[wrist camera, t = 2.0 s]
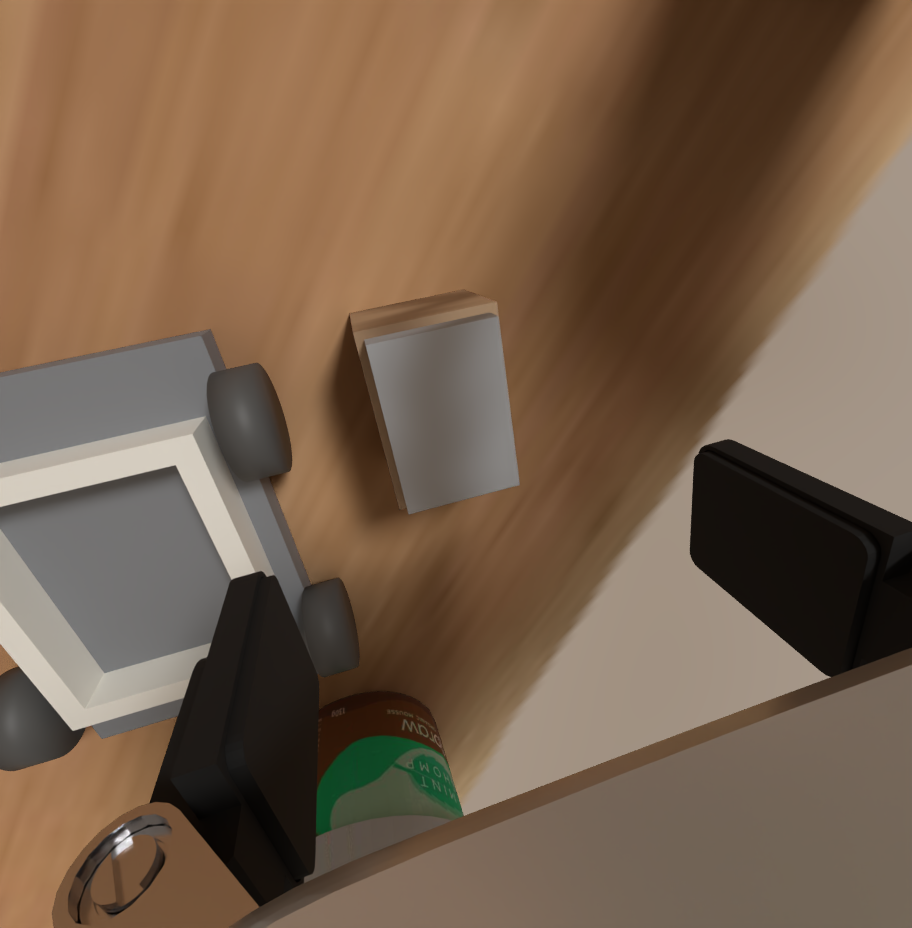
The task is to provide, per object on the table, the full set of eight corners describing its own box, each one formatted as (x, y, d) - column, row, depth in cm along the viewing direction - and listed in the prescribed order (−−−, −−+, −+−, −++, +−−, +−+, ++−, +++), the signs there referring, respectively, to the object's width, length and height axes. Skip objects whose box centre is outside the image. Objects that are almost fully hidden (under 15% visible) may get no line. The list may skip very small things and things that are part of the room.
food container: (492, 713, 33) (550, 888, 24) (435, 770, 34) (471, 958, 25) (338, 649, 27) (339, 843, 19) (277, 719, 29) (251, 933, 20)
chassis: (250, 320, 19) (229, 340, 16) (363, 639, 27) (368, 705, 24) (-172, 407, 18) (-317, 455, 14) (82, 722, 26) (36, 809, 22)
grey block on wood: (463, 289, 21) (505, 304, 16) (485, 435, 24) (527, 489, 19) (349, 313, 20) (353, 337, 15) (387, 459, 23) (402, 523, 18)
